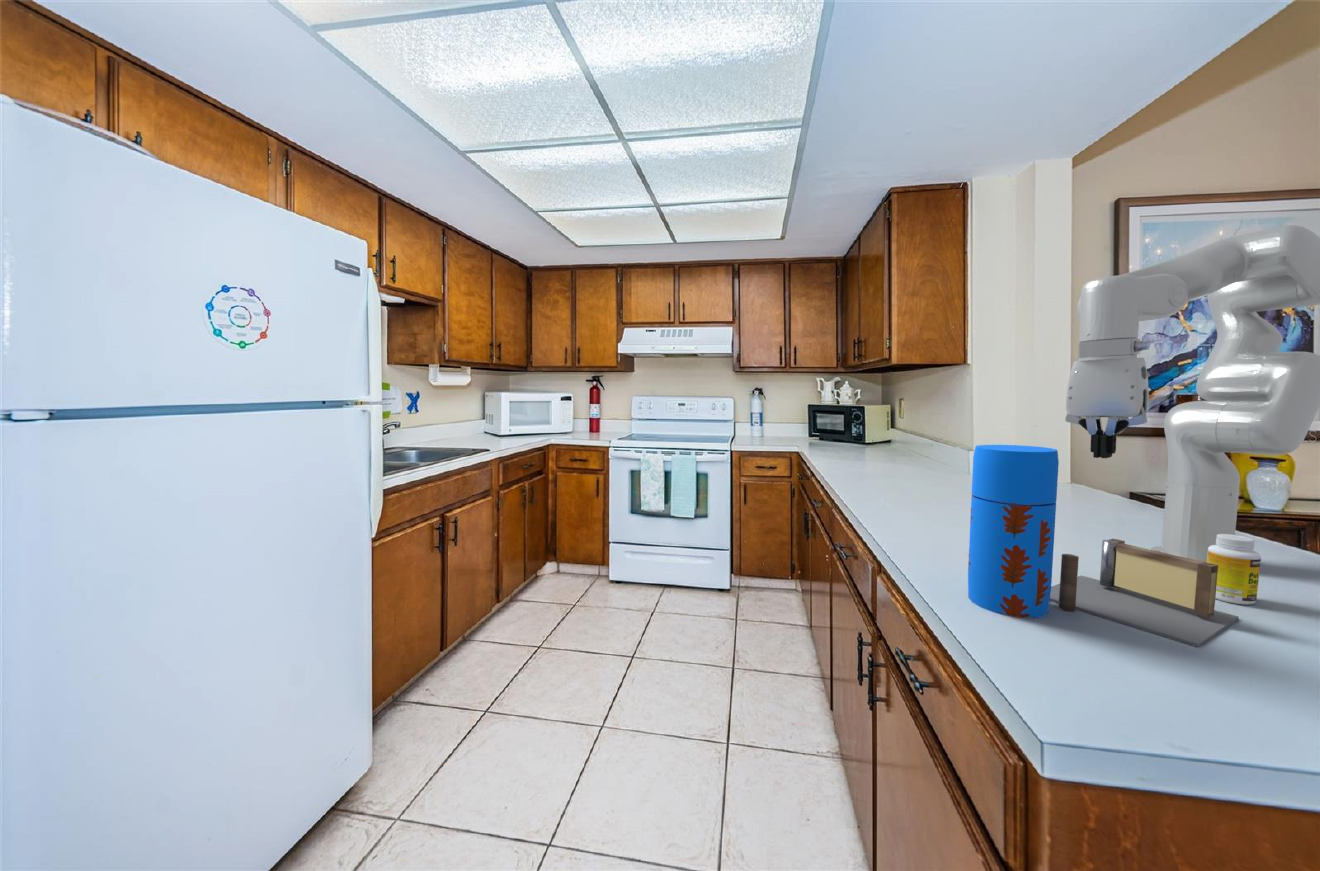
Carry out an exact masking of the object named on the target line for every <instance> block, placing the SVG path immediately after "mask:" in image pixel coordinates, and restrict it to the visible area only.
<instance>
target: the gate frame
mask: <svg viewBox="0 0 1320 871" xmlns="http://www.w3.org/2000/svg"><path fill="white" fill-rule="evenodd" d="M1109 540H1111V541H1116V542H1118V543H1119V544H1121V543H1123V544H1126V543H1125V542H1126V541H1125V540H1122V539H1116V538H1110V539H1109ZM1060 560H1061V562H1060V577H1059V578H1060V580H1059V583H1057V584H1055V585H1053V586H1052V585H1051V593H1050V601H1049V602H1052V603H1055V604H1058V608H1059V609H1061V610H1063V611H1067V612H1076V610H1078V611H1081V612H1085V613H1087V614H1091V615H1094V616H1096V617H1097V616H1098V617H1100V618H1104V619H1107V620H1110V621H1113V622H1116V623H1119V624H1123V625H1125V626H1126V625H1127V626H1129V627H1132V628H1136V629H1139V630H1142V631H1146V632H1149V633H1151V634H1154V635H1159V636H1162V637H1164V638H1168V639H1170V640H1174V641H1177V642H1180V643H1184V644H1186V645H1187V644H1188V645H1190V646H1193V647H1197V648H1199V647H1200V646H1202V645H1204V644H1205V643H1206V642H1208V641H1209V640H1210V639H1212V638H1213V637H1215V636H1216V635H1218V634H1220V633H1221V632H1222V631H1224V630H1225V629H1227V628H1228V627H1230V626H1231V625H1232V624H1233V623H1235V622H1236V621H1238V620H1239V616H1238V615H1235V614H1231V613H1227V612H1222V611H1219V610H1215V609H1214V615H1213V616H1209V617H1204V616H1201V615H1198V614H1195V613H1194V609H1191V608H1188V607H1185V606H1181V605H1178V604H1175V603H1171V602H1168V601H1165V600H1161V599H1158V598H1155V597H1151V596H1148V595H1145V594H1141V593H1138V592H1135V591H1131V590H1128V589H1125V588H1121V587H1118V586H1116V587H1106V586H1102V585H1100V579H1095V578H1092V577H1090V576H1085V575H1079V576H1078V572H1079V556H1078V555H1075V554H1071V553H1070V554H1069V553H1061V559H1060Z"/></svg>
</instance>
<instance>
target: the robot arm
mask: <svg viewBox="0 0 1320 871" xmlns="http://www.w3.org/2000/svg"><path fill="white" fill-rule="evenodd" d="M1205 297H1207V303H1208V307H1209V308H1208V309H1209V311H1210V315H1211V318H1212V321H1213V324H1214V326H1215V329H1216V333H1217V334H1216V335H1217V336H1216V337H1217V338H1216V340H1215V343H1214V345H1213V347H1212V349H1211V351H1210V353H1209V356H1208V357H1207V359H1206V361H1205V363H1204V366H1203V367H1202V368H1201V371H1200V372H1199V375H1198V378H1197V381H1196V384H1195V392H1196V393H1197V395H1198V396H1199V397H1200V398H1201V399H1203V400H1195V401H1188V402H1187V401H1186V402H1183V403H1180V404H1177V405H1175V406H1173V407H1171V408H1170V410H1168V412H1167V413H1166V414H1165V417H1164V422H1163V428H1164V430H1163V431H1164V435H1165V440H1166V447H1167V473H1166V488H1165V499H1164V500H1165V502H1164V511H1163V514H1164V515H1163V524H1162V525H1163V526H1162V537H1161V545H1158V546H1152V547H1151V548H1150V550H1154V551H1158V552H1162V553H1167V554H1171V555H1175V556H1180V557H1184V558H1188V559H1193V560H1197V561H1201V562H1207V556H1208V548H1209V546H1211V545H1217V544H1216V538H1217V535H1218V534H1230V535H1236V527H1237V518H1238V516H1237V515H1238V505H1239V504H1238V503H1239V496H1240V495H1239V493H1240V484H1241V477H1240V473H1239V471H1238V468H1237V467H1236V465H1235V464H1234V463H1233V461H1232V460H1231V459H1230V458H1229V457H1228V455H1226V453H1234V454H1235V453H1236V454H1249V455H1261V456H1262V455H1263V456H1283V455H1289V454H1290V453H1292V452H1295V451H1296V450H1297V449H1298V448H1299V447H1300V446H1301V444H1303V442H1304V441H1305V438H1306V436H1307V435H1308V433H1309V430H1310V428H1311V426H1312V424H1313V422H1314V419H1315V418H1316V416H1317V413H1318V412H1319V409H1320V355H1319V354H1317V353H1314V352H1309V351H1280V349H1281V348H1282V345H1283V342H1284V337H1283V335H1282V333H1281V332H1280V331H1279V330H1278V328H1276V327H1275V326H1274V325H1273V324H1272V323H1270V322H1269V321H1267V320H1266V319H1264V318H1262V317H1261V316H1260V315H1259V313H1257V312H1266V311H1275V310H1285V309H1292V308H1293V309H1294V308H1295V309H1296V308H1303V307H1311V306H1313V307H1314V306H1318V305H1320V236H1319V235H1317V234H1316V233H1315V232H1314V231H1312V230H1310V229H1308V228H1307V227H1304V226H1301V225H1296V224H1290V225H1287V224H1286V225H1281V226H1278V227H1274V228H1268V229H1263V230H1260V231H1255V232H1254V231H1253V232H1250V233H1245V234H1241V235H1240V234H1239V235H1234V236H1231V237H1227V238H1224V239H1220V240H1217V241H1213V242H1212V243H1211V242H1210V243H1209V244H1206V245H1204V246H1201V247H1200V248H1197V249H1194V250H1192V251H1189V252H1187V253H1185V254H1182V255H1179V256H1176V257H1174V258H1169V259H1166V260H1163V261H1159V262H1157V263H1154V264H1151V265H1148V266H1145V267H1143V268H1139V269H1135V270H1133V271H1130V272H1127V273H1123V274H1120V275H1112V276H1111V275H1109V276H1104V277H1098V278H1094V279H1091V280H1089V281H1087V282H1085V283H1084V284H1083V285H1082V287H1081V290H1080V297H1079V300H1078V301H1077V307H1076V310H1077V315H1078V317H1079V330H1078V331H1079V334H1078V360H1076V361H1073V363H1072V366H1071V370H1070V375H1069V378H1068V382H1067V391H1066V399H1065V412H1066V416H1065V422H1067V423H1070V424H1074V425H1080V426H1081V427H1082V428H1083V429H1084V430H1085V431H1087V433H1088V434H1089V435H1090V449H1089V450H1090V452H1091V453H1093V455H1092V456H1093V458H1095V459H1098V458H1101V459H1110V458H1111V457H1112V456H1113V454H1116V452H1117V451H1116V450H1117V435H1119V434H1120V433H1121V432H1122V431H1124V430H1125V429H1126V428H1128V427H1132V426H1138V425H1145V424H1147V423H1148V417H1147V413H1148V412H1149V408H1150V406H1149V405H1150V392H1149V378H1148V377H1149V376H1148V370H1147V364H1146V363H1147V362H1146V361H1145V357H1138V355H1139V354H1140V353H1141V352H1143V351H1146V350H1147V351H1148V350H1150V347H1151V346H1150V345H1151V344H1150V341H1144V340H1143V341H1142V340H1140V339H1141V338H1139V331H1140V330H1139V329H1140V322H1145V321H1155V320H1161V319H1165V318H1168V317H1171V316H1173V315H1175V314H1177V313H1178V312H1180V311H1181V310H1182V309H1183V308H1184V307H1185V306H1186V304H1187V303H1188V302H1192V301H1196V300H1199V299H1202V298H1205ZM1102 418H1107V422H1106V426H1105V430H1103V425H1102V424H1103V423H1102ZM1124 418H1127V419H1124Z"/></svg>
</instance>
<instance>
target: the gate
mask: <svg viewBox="0 0 1320 871" xmlns="http://www.w3.org/2000/svg"><path fill="white" fill-rule="evenodd" d="M1100 559H1101V560H1100V561H1101V562H1100V573H1099V574H1100V575H1099V580H1100V585H1102V586H1106V587H1116V586H1118V587H1121V588H1125V589H1128V590H1131V591H1135V592H1138V593H1141V594H1145V595H1148V596H1151V597H1155V598H1158V599H1161V600H1165V601H1168V602H1171V603H1175V604H1178V605H1181V606H1185V607H1188V608H1191V609H1194V613H1195V614H1198V615H1201V616H1204V617H1209V616H1213V615H1214V610H1215V605H1216V599H1215V596H1216V585H1217V574H1218V565H1215V564H1211V563H1207V562H1201V561H1197V560H1193V559H1188V558H1184V557H1180V556H1175V555H1171V554H1167V553H1162V552H1158V551H1154V550H1151V549H1148V548H1145V547H1140V546H1136V545H1131V544H1127V543H1125V544H1123V543H1121V544H1119V543H1118V542H1116V541H1111V540H1110V539H1103V540H1102V544H1101V558H1100Z"/></svg>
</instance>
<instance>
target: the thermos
mask: <svg viewBox="0 0 1320 871" xmlns="http://www.w3.org/2000/svg"><path fill="white" fill-rule="evenodd" d="M973 452H974V453H973V458H972V475H971V476H972V478H971V499H970V500H971V501H970V504H971V505H970V521H969V522H970V524H969V525H970V526H969V542H968V544H969V545H968V547H969V548H968V565H967V566H968V568H967V586H968V587H967V589H968V590H967V591H968V592H967V593H968V599H969V600H970V601H971V602H972V603H973V604H974V605H976V606H978V607H980V608H982V609H985V610H986V611H990V612H992V613H993V612H994V613H996V614H999V615H1004V616H1008V617H1015V618H1030V619H1031V618H1032V619H1035V618H1041V617H1042V618H1043V617H1044V616H1046V615H1047V614H1048V613H1049V607H1050V602H1051V601H1050V593H1051V587H1052V581H1053V580H1052V579H1053V565H1054V564H1053V562H1054V546H1055V530H1056V528H1055V527H1056V511H1057V496H1058V495H1057V494H1058V483H1059V482H1058V479H1059V464H1060V463H1059V462H1060V461H1059V453H1058V449H1056V448H1051V447H1044V446H1036V445H1035V446H1034V445H1033V446H1032V445H1022V444H1021V445H1016V444H980V445H979V444H978V445H975V447H974V451H973Z"/></svg>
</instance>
